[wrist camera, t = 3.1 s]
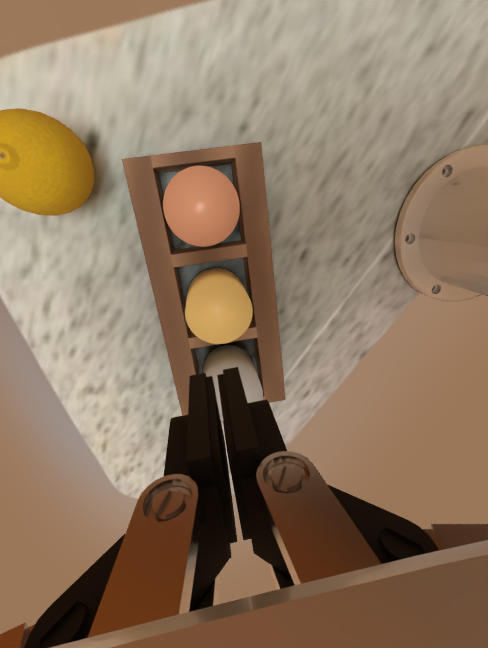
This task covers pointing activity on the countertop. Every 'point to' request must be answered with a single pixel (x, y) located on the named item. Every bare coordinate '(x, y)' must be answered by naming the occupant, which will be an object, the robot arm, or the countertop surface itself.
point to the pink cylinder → (201, 206)
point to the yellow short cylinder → (218, 306)
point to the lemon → (42, 164)
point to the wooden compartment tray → (209, 259)
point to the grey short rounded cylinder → (230, 359)
